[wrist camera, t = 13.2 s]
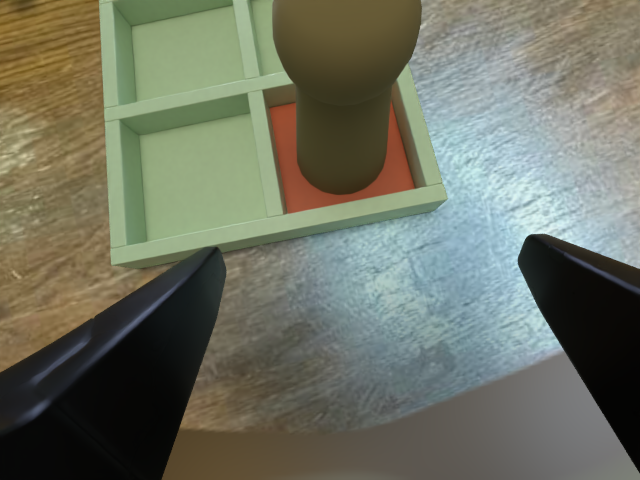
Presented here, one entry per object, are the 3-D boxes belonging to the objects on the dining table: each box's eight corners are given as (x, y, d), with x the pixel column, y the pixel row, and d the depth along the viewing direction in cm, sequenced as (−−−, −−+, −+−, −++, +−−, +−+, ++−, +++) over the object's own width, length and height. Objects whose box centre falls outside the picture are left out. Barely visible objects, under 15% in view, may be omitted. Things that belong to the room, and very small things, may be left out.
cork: (291, 191, 19) (233, 58, 8) (301, 109, 20) (261, -103, 9) (383, 198, 19) (448, 66, 8) (388, 114, 20) (451, -103, 9)
